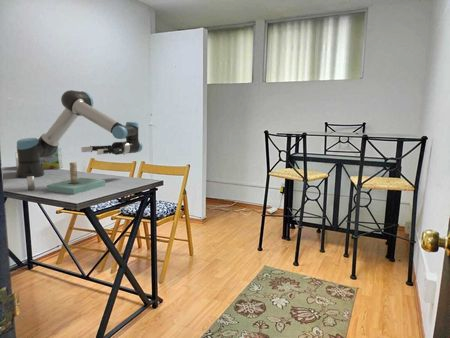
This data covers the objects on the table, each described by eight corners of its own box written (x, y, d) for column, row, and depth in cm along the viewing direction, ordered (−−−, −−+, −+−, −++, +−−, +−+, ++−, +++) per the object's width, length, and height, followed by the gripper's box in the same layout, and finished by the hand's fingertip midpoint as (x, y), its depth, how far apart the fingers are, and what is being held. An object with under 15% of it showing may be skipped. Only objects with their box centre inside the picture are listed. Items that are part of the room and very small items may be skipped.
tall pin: (69, 189, 169) (68, 163, 166) (74, 187, 172) (73, 162, 169) (74, 189, 168) (72, 163, 165) (79, 188, 171) (77, 162, 168)
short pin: (26, 189, 165) (25, 176, 164) (32, 188, 168) (31, 175, 167) (30, 190, 164) (29, 177, 163) (36, 189, 166) (35, 176, 165)
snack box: (29, 168, 226) (27, 147, 223) (34, 167, 232) (32, 146, 229) (59, 169, 226) (57, 148, 223) (63, 167, 232) (61, 147, 229)
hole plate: (47, 190, 164) (47, 185, 164) (80, 182, 185) (80, 177, 184) (74, 194, 158) (73, 188, 158) (105, 185, 179) (104, 180, 178)
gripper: (135, 156, 187) (105, 160, 169) (106, 152, 199) (75, 155, 181) (134, 143, 186) (104, 146, 168) (106, 140, 198) (75, 142, 180)
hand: (89, 150), depth 174 cm, fingers open, 13 cm apart
